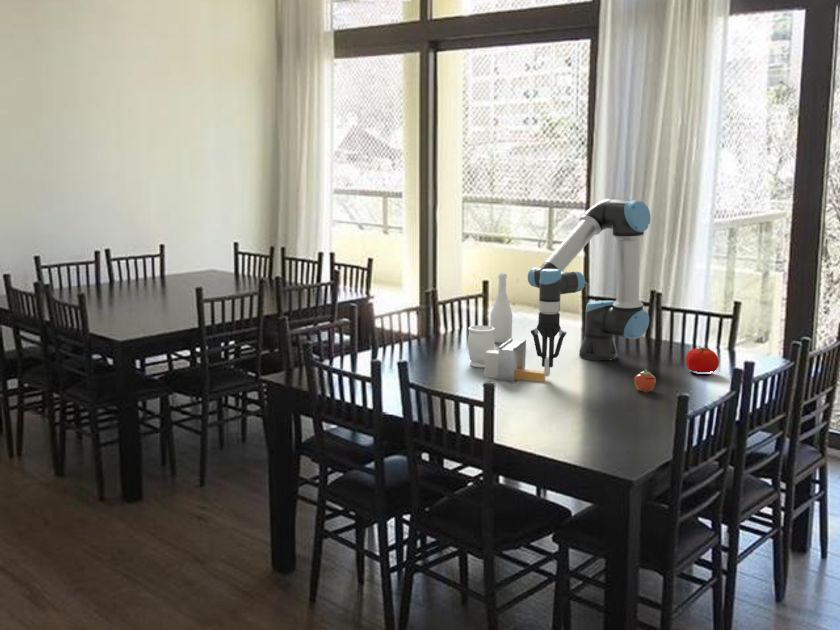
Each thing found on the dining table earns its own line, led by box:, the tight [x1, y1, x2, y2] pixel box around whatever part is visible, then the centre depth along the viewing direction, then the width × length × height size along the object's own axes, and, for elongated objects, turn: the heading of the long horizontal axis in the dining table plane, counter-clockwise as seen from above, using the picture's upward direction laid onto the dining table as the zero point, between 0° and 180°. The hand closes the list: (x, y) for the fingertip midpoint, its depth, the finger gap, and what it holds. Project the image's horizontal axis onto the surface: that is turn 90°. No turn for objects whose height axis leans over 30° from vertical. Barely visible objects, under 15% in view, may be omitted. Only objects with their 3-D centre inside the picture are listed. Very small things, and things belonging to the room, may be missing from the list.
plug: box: [480, 349, 546, 382], centre depth 323 cm, size 24×5×9 cm, turn 69°
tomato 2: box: [633, 368, 657, 392], centre depth 307 cm, size 7×7×8 cm
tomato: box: [685, 345, 720, 372], centre depth 331 cm, size 11×13×10 cm
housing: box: [497, 337, 527, 384], centre depth 323 cm, size 6×16×13 cm, turn 159°
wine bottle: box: [489, 272, 513, 344], centre depth 381 cm, size 10×10×30 cm
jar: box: [467, 325, 496, 369], centre depth 339 cm, size 11×10×15 cm
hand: (547, 375), depth 319 cm, fingers closed
